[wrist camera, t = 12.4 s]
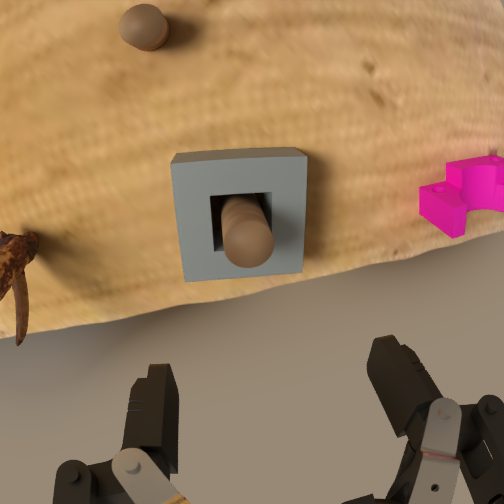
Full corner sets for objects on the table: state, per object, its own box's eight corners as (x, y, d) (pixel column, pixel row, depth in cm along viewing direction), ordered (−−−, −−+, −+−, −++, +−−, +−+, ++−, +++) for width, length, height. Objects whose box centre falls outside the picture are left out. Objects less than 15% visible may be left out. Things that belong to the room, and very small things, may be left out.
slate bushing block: (293, 147, 32) (307, 156, 28) (291, 250, 38) (302, 272, 33) (176, 153, 31) (170, 163, 26) (187, 258, 36) (185, 282, 32)
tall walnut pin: (257, 185, 33) (274, 220, 25) (257, 220, 35) (274, 266, 26) (218, 187, 33) (222, 224, 24) (221, 222, 35) (225, 270, 26)
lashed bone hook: (64, 276, 35) (6, 383, 20) (39, 284, 36) (-20, 385, 20) (32, 211, 31) (-58, 299, 15) (7, 223, 31) (-78, 309, 15)
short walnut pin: (169, 12, 24) (163, 0, 20) (170, 48, 26) (163, 41, 22) (130, 18, 23) (118, 8, 19) (130, 54, 25) (118, 48, 21)
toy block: (493, 154, 35) (529, 169, 28) (491, 193, 38) (525, 213, 31) (417, 167, 35) (455, 186, 28) (418, 213, 38) (452, 238, 31)
